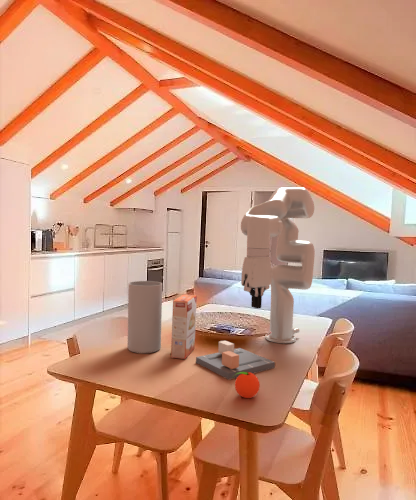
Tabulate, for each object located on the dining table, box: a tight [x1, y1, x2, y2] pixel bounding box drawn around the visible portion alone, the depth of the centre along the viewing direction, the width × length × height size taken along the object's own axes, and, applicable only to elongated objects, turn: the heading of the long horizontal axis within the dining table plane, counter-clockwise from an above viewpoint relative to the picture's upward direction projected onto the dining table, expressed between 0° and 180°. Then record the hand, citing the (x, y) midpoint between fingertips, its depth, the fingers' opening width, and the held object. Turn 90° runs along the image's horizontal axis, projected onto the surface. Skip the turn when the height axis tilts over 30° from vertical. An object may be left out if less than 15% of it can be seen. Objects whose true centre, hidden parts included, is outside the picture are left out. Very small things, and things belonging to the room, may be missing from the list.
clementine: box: [233, 372, 261, 399], centre depth 115 cm, size 8×7×7 cm
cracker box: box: [170, 293, 198, 360], centre depth 151 cm, size 14×6×21 cm, turn 168°
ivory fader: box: [217, 340, 235, 354], centre depth 144 cm, size 3×5×4 cm, turn 36°
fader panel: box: [195, 347, 276, 381], centre depth 141 cm, size 20×18×2 cm
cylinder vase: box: [126, 280, 163, 354], centre depth 155 cm, size 12×12×25 cm
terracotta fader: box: [222, 351, 239, 369], centre depth 133 cm, size 3×5×4 cm, turn 36°
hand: (256, 307), depth 138 cm, fingers closed
